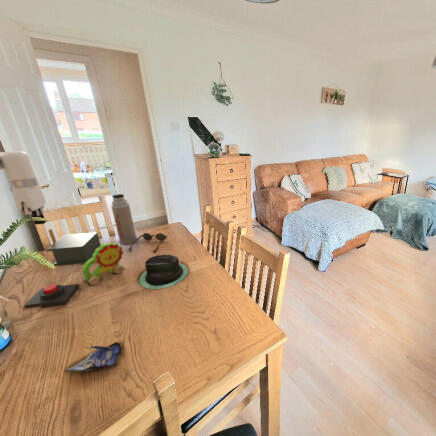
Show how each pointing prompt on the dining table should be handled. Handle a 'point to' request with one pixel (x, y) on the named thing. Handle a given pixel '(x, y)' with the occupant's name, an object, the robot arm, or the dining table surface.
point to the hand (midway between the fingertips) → (40, 223)
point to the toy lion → (103, 262)
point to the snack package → (98, 358)
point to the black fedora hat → (162, 272)
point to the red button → (50, 289)
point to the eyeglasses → (149, 237)
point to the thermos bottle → (123, 220)
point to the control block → (53, 297)
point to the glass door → (52, 236)
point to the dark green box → (74, 248)
